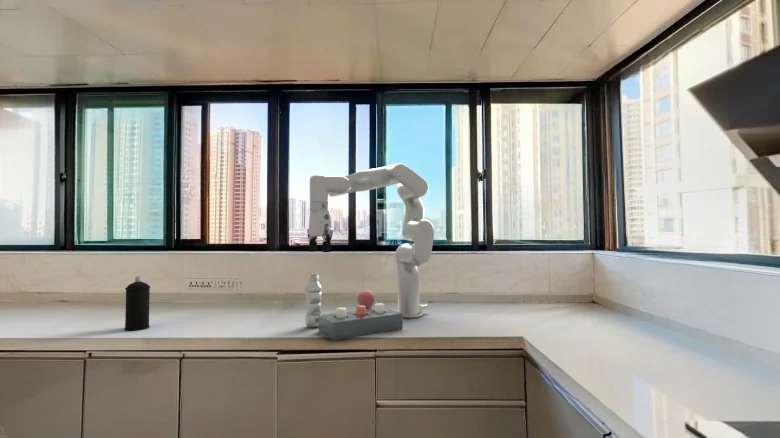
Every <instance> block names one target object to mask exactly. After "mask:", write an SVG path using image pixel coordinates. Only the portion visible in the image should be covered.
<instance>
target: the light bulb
mask: <svg viewBox="0 0 780 438" xmlns="http://www.w3.org/2000/svg"><path fill="white" fill-rule="evenodd" d="M357 301H358V306H360V305H363V306H366V310H367V309H372V306H373V304H374V302H375V294H373V292H372V291H371V290H368V289H365V290H364V289H363V290H362V291H361V292H360V293H358V296H357Z"/></svg>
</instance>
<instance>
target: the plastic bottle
mask: <svg viewBox="0 0 780 438" xmlns="http://www.w3.org/2000/svg"><path fill="white" fill-rule="evenodd" d="M319 276H320V275H319V274H310V275H308V281H309V282H308V283H307V284H306V286H305V289H304V291H305V298H306V310H305V313H306V314H305V316H304V317H305V319H304V323H305V326H307V327H309V328H316V327H318V328H319V315H323V314H322V305H321V302H322V294H323V293H322V292H323V288H322V287H323V286H322V285H321V283H320V282H319V280H320V278H319Z"/></svg>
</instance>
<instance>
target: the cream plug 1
mask: <svg viewBox="0 0 780 438" xmlns="http://www.w3.org/2000/svg"><path fill="white" fill-rule="evenodd" d="M346 312H347V307H337V308H335V313H336V318H337V319H340V318H346Z"/></svg>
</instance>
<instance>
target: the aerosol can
mask: <svg viewBox="0 0 780 438" xmlns="http://www.w3.org/2000/svg"><path fill="white" fill-rule="evenodd" d="M150 288H151V286H150V285H149V284H148V283H147V282H144V281H142V276H141V275H140V276H139V275H138V276H135V277H134V282H131V283H130V284H128V285H127V286H126V287H125V315H124V316H125V323H124V331H127V332H136V331H137V332H138V331H142V330H147V329H149V328H150V327H151V326H150V293H151V292H150Z"/></svg>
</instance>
